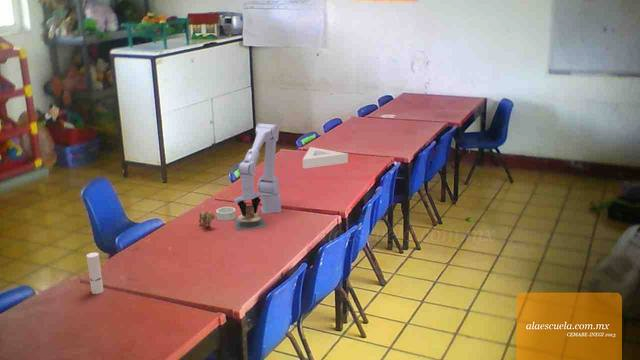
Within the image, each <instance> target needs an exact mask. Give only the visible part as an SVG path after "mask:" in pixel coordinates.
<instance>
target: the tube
mask: <svg viewBox="0 0 640 360" xmlns="http://www.w3.org/2000/svg"><path fill="white" fill-rule="evenodd" d="M86 263H87V269H88V270H87V271H88V274H89V283H90V289H91V294H94V295H98V294H99V295H100V294H102V293H103V292H104V283H103V278H102V268H101V261H100V254H99V252H90V253H87V254H86Z"/></svg>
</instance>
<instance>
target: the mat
mask: <svg viewBox="0 0 640 360" xmlns="http://www.w3.org/2000/svg"><path fill="white" fill-rule="evenodd" d="M233 223H234V226H235V228H236V231H237V232H238V231H248V230H255V229H256V230H257V229H266V228H268V227H267V225H266V223H265V220H264V218H263V216H261V219H260V220H258V221H255V222H242V221H239V220H238V219H233Z"/></svg>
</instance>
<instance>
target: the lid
mask: <svg viewBox="0 0 640 360" xmlns="http://www.w3.org/2000/svg"><path fill="white" fill-rule="evenodd" d="M261 217H262V215H261V214H260V213H258V212H257V213H256V214H255V213H254V207H253V205H252V204H250V205H246V216H243V215H242V213H241V214H239V215H238V216H237V220H239V221H242V222H255V221H258V220H260V219H261Z"/></svg>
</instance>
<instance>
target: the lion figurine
mask: <svg viewBox="0 0 640 360" xmlns="http://www.w3.org/2000/svg"><path fill="white" fill-rule="evenodd" d="M215 218H217V215H215V214H213V212H212V211H205V210H202V211H200V212H199V220H198V222H199V226H200V227H201V226H202V224H203V230H204V231H206V230H207V227H208V228H209V229H211V228H212V226H211V223H212V222H213V220H215ZM202 222H203V223H202Z"/></svg>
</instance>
